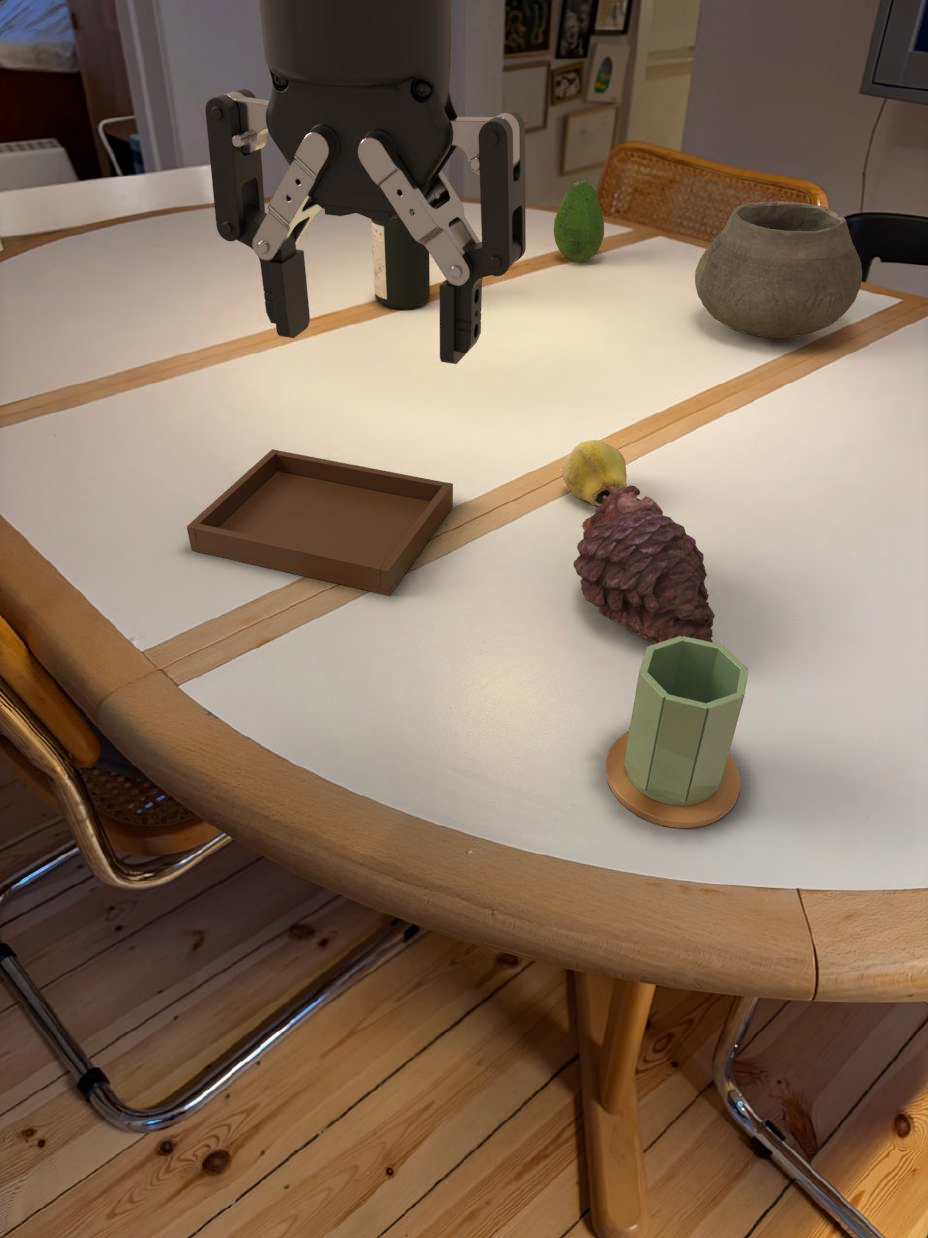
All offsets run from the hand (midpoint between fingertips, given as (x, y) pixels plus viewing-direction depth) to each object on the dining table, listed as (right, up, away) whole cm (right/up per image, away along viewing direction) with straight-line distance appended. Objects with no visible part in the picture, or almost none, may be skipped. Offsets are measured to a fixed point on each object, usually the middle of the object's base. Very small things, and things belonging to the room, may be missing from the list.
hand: (373, 344), depth 45 cm
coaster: (+19, -24, +18) cm, 36 cm away
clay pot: (+46, +27, +84) cm, 100 cm away
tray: (-8, -5, +43) cm, 44 cm away
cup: (+19, -24, +18) cm, 35 cm away
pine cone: (+19, -13, +33) cm, 40 cm away
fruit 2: (+18, -2, +47) cm, 50 cm away
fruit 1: (+23, +45, +107) cm, 118 cm away
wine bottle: (-5, +33, +91) cm, 97 cm away
